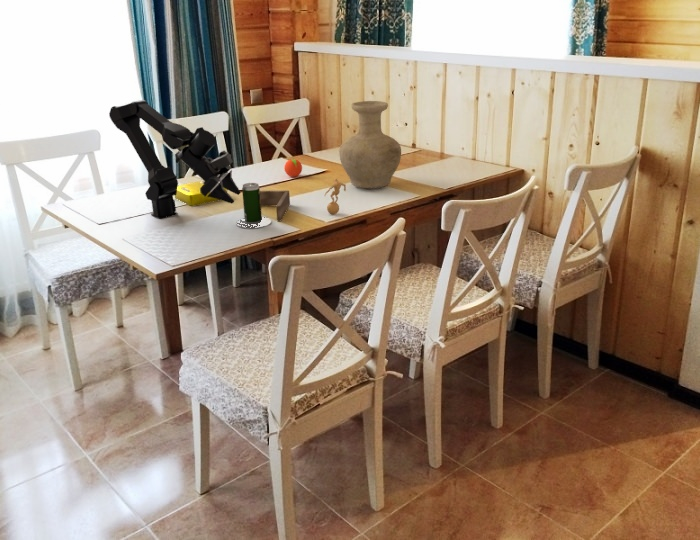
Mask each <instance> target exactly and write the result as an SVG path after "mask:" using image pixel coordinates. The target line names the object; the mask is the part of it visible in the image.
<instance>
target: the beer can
mask: <svg viewBox="0 0 700 540" xmlns="http://www.w3.org/2000/svg"><path fill="white" fill-rule="evenodd" d="M260 188H261V187H260V186H259V183H258V182H248V183H243V184H242V188H241V193H242V202H243V204H242V205H243V215H244V217H243V218H245V222H246V223H247V224H258V223H260V222H261V220H262V217H263V215H262V214H263V213H262V206H261V201H260V191H261V190H260Z"/></svg>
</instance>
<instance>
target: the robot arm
mask: <svg viewBox="0 0 700 540" xmlns="http://www.w3.org/2000/svg"><path fill="white" fill-rule="evenodd" d="M108 114H109V118H110V120H111V122H112V124H113V125H114V126H115V127H116V129H118V130H119V131H121V132H123V133H124V134H125V135H126V137H127V138H128V140H129V142H130V144H131V145H132V147H133V149H134V151H135V152H136V154H137V156H138V157H139V159H140V160H141V162H142V164H143V166H144V167H145V169H146V171H147V182H148V185H149V186H148V188H147V190H146V191H145V197H146V200H148V201H151V206H152V213H150V215H151V216H153V217H155V218H157V219H160V220H162V219H167V218H171V217H175V216H177V215H178V212H177V209H176V199H175V198H174V196H175V195H176V194H177V187H178V186H179V181H178V179H177V178H178V176H177V175H176V173H174V171H173V168H172V167H171V166H168V167H166V166H164V165H163V164H162V162H161V161H160V159H159V158H158V155H157V154H156V152H155V151H154V149H153V147H152V145H151V144H150V141H149V140H148V138H147V137H146V134H145V133H144V131H143V130H142V128H141V120H142V121H144V122H145V124H147V125H148V126H149V127H151V128H153V129H154V130H155V131H157V133H159V134H160V135H161V138H162V141H163V143H164V144H166V145H167V146H168V147H169V149H171V150H178V149H181V150H180V151H177V152H176V153H174V157H175V163H177V164H178V163H180V161H181V162H183V163H184V164H185V165H186V166H187V167H188V168H190V170H192V171H193V173H192V174H193V175H194V176H198V177H199V178H200V179H202V181H203V180H204V181H205V182H204V185H203V186H202V187H201V188H200V193H201V194H203V195H204V196H206V195H207V194H208V193H209V192H210V194H209V195H208V197H212V198H216V199H219V201H223V202H224V203H225V202H226V203H228V204H234V202H235V200H234V199H233V197H232V196H231V195H230V194H229V193H228V191H229V192H232V193H233V194H235V195H237V196H239V195H240V194H241V193H242V191H241V190H240V189H239V187H238V186H237V183H236V182H235V181H234V179H233V176H232V172H233V170H232V166H231V165H232V163H233V159H232V154H230V153H229V152H227V151H226V150H222V151H220V152H219V153H218V156H217V157H216V158H215V159H213V158H212V157H206V155H207V154H208V153H209V152H210V151H211V149H212V148H213V147H215V145H216V143H217V139H216V136H215V135H214V134H213V133H212V132H210V131H209V130H206V129H205V128H204V127H197V128H196V130H195V131H194V132H192V131H191V130H190V129H189V128H187V127H186V126H184V125H182V124H179V123H175V122H172V121H171V120H169V119H168V118H166V117H165V116H164V115H162V113H160V112H158V111H157V110H156V109H154V108H153V107H152V105H150V104H149V103H148V102H147V100H144V99H140V100H139V99H138V100H134V101H131V102H130V103H125V104H118V105H114V106H112V107H110V111H109V113H108ZM224 188H225V189H227V192H226V190H225V189H224Z"/></svg>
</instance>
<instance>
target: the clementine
mask: <svg viewBox="0 0 700 540" xmlns="http://www.w3.org/2000/svg"><path fill="white" fill-rule="evenodd" d="M302 165H303V164H302V162H300V161H299V160H298V159H296V158H291V159H289V160H287V161H286V162H285V164H284V172H285V174H286V175H287V176H289V177H291V178H295V177H298V176H299V175H301V173H302V170H303V166H302Z"/></svg>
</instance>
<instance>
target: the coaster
mask: <svg viewBox="0 0 700 540" xmlns="http://www.w3.org/2000/svg"><path fill="white" fill-rule="evenodd" d="M263 217H264V218H265V217H266V216H263ZM266 218H268V217H266ZM241 219H245V217H243V218H240V219H239V220H240V223H241V222H242V223H245V224H247V223H246V222H245V221H242V220H241ZM239 220H237V221H239ZM236 223H237V222H236ZM240 223H237V224H239V225H241V227H242V225H243V226H245V227H246V226H247V227H246V228H250V227H251V226H252V227H251V228H255V227H257V226H258V224H256V225H257V226H254V227H253V225H251V224H249V225H250V226H248V224H247V225H245V224H240ZM237 224H236V225H237ZM259 226H260V225H259Z"/></svg>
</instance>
